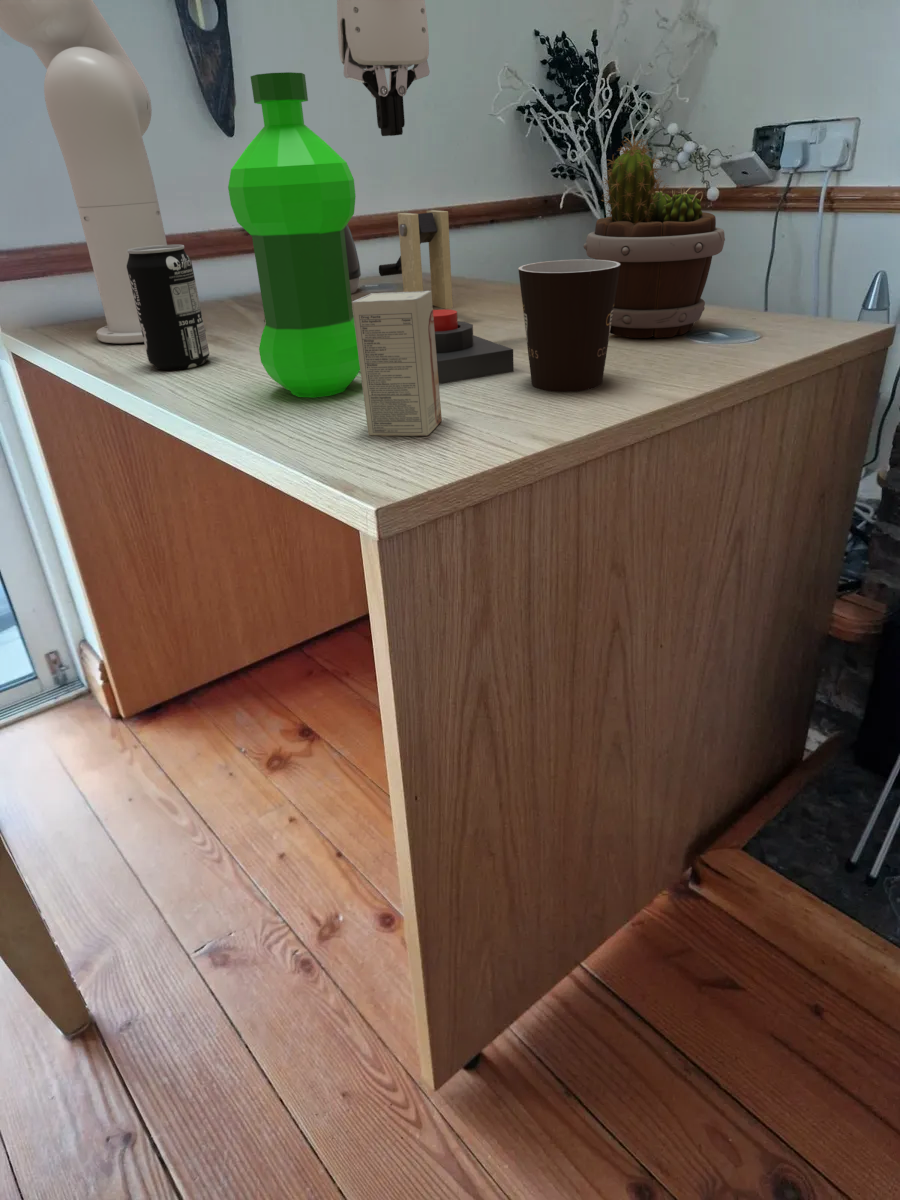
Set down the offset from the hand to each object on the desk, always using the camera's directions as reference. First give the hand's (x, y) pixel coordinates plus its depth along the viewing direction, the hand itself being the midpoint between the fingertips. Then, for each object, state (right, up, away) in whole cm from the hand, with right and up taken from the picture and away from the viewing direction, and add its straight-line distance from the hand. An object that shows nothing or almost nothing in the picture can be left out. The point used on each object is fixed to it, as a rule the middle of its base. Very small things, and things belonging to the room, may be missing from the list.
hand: (392, 135), depth 98 cm
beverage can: (-23, -31, -10) cm, 40 cm away
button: (+6, -31, -20) cm, 37 cm away
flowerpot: (+30, -27, -7) cm, 41 cm away
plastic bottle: (-5, -38, -23) cm, 45 cm away
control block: (+6, -34, -18) cm, 39 cm away
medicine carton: (+4, -44, -35) cm, 57 cm away
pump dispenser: (-11, -12, +24) cm, 29 cm away
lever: (+2, -13, +6) cm, 14 cm away
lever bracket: (+4, -21, +6) cm, 22 cm away
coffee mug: (+19, -37, -25) cm, 49 cm away
